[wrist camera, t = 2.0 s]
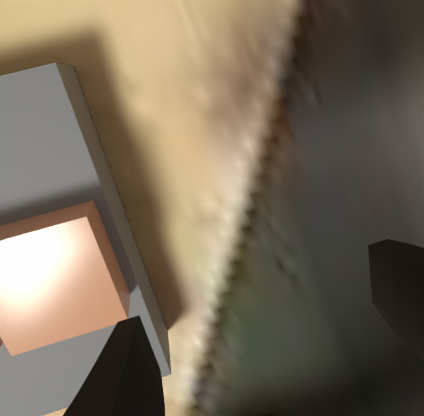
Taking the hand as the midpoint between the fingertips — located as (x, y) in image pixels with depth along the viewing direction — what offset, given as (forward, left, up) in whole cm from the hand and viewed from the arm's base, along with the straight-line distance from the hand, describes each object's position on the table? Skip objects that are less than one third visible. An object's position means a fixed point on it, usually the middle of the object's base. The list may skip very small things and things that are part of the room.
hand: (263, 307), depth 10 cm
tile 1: (+8, 0, -7) cm, 10 cm away
